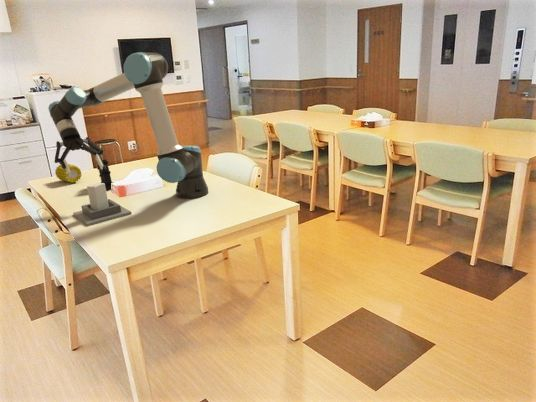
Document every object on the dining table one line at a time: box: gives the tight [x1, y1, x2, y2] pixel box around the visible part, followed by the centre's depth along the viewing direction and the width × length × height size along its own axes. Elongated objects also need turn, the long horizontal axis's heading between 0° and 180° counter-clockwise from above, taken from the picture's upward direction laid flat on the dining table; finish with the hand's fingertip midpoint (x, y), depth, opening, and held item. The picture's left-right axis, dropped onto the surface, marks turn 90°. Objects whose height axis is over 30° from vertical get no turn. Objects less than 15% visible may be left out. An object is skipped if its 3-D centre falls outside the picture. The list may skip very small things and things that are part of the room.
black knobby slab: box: [96, 158, 114, 191], centre depth 212 cm, size 4×13×15 cm, turn 33°
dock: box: [72, 199, 132, 227], centre depth 174 cm, size 18×18×4 cm
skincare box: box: [86, 182, 109, 211], centre depth 173 cm, size 6×4×12 cm
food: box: [54, 163, 82, 183], centre depth 227 cm, size 15×12×10 cm
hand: (86, 170), depth 177 cm, fingers open, 13 cm apart
